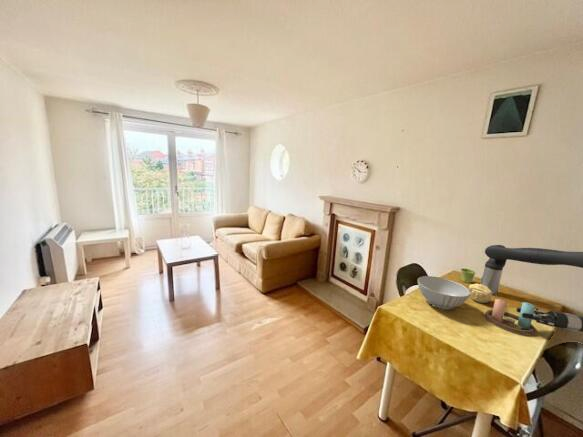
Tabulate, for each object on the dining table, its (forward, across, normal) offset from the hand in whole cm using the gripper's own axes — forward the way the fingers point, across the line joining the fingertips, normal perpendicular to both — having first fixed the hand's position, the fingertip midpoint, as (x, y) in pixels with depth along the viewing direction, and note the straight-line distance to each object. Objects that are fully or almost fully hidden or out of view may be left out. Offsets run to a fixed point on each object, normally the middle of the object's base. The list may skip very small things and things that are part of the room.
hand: (520, 312), depth 121 cm
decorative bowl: (+33, -9, +8) cm, 35 cm away
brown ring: (+3, -2, +8) cm, 9 cm away
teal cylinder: (-3, 0, +7) cm, 7 cm away
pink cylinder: (+8, -1, +8) cm, 12 cm away
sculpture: (+8, -26, +8) cm, 28 cm away
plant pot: (+6, -57, +8) cm, 58 cm away
